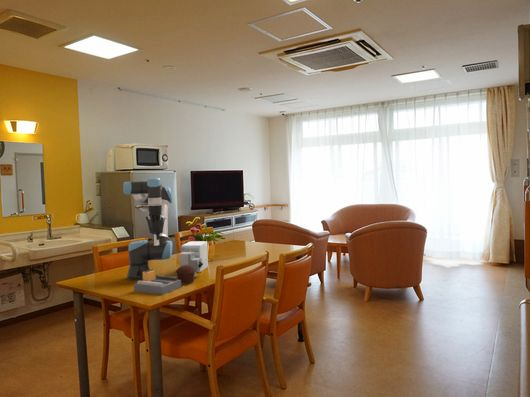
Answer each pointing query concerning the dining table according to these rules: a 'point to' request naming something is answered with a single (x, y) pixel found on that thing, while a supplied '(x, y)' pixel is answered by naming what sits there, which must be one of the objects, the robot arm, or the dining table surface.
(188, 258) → the circuit breaker
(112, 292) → the dining table surface
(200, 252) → the supplement box
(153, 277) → the breaker toggle
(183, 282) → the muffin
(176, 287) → the breaker panel
